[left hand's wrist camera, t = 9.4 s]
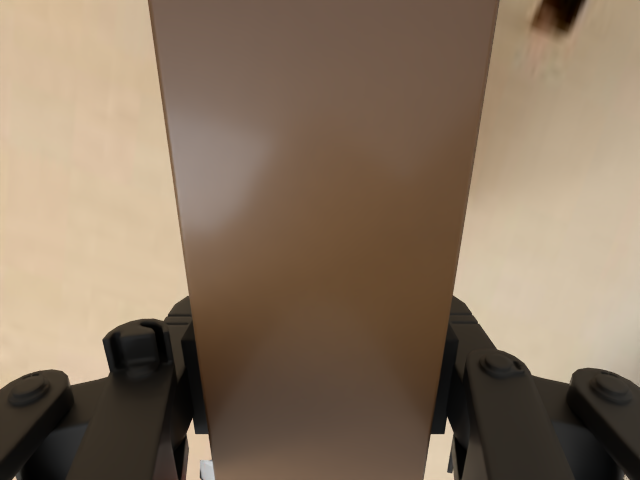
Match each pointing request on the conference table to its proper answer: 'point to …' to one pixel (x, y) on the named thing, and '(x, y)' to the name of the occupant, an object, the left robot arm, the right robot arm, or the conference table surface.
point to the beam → (321, 219)
